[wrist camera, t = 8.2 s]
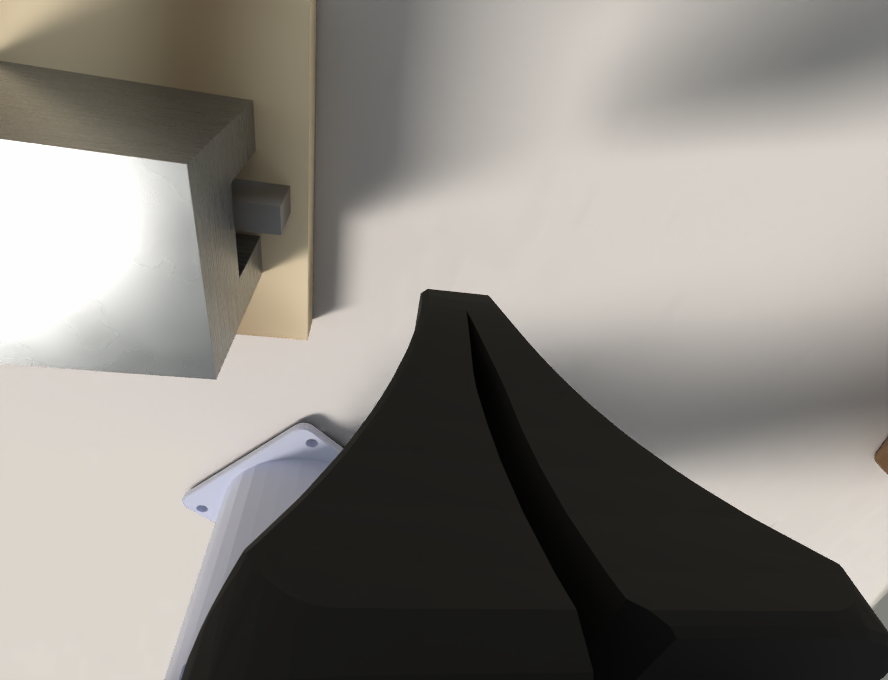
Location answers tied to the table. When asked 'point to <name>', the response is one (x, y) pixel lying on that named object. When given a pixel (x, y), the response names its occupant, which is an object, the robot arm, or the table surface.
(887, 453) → the wooden block
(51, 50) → the rail
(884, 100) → the table surface
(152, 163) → the clip
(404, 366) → the robot arm
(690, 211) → the table surface
